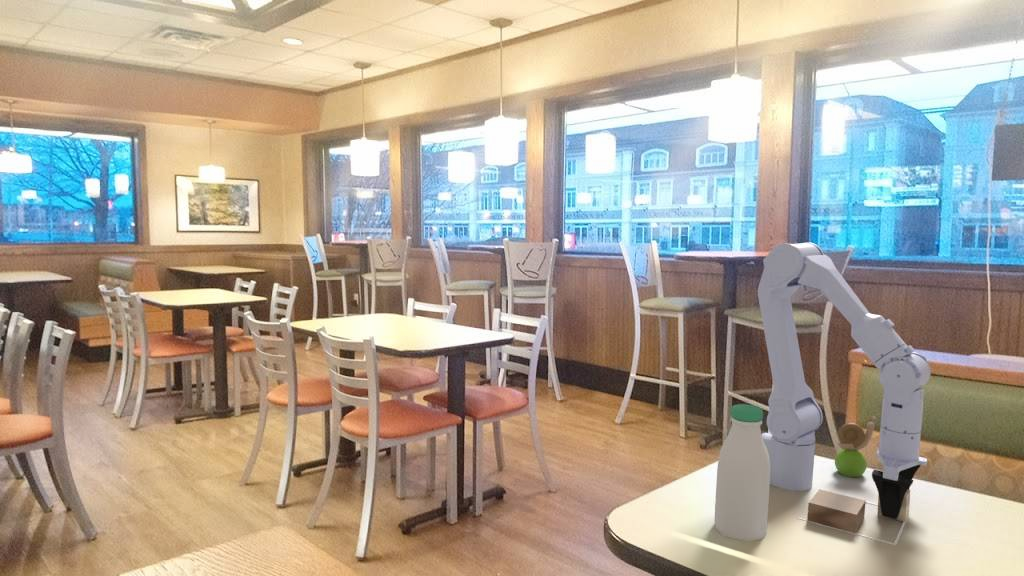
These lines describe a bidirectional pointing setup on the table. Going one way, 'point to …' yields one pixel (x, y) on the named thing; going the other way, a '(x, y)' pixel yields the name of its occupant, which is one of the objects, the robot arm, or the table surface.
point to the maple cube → (904, 507)
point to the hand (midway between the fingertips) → (893, 508)
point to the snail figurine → (853, 448)
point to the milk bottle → (743, 478)
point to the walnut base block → (836, 510)
